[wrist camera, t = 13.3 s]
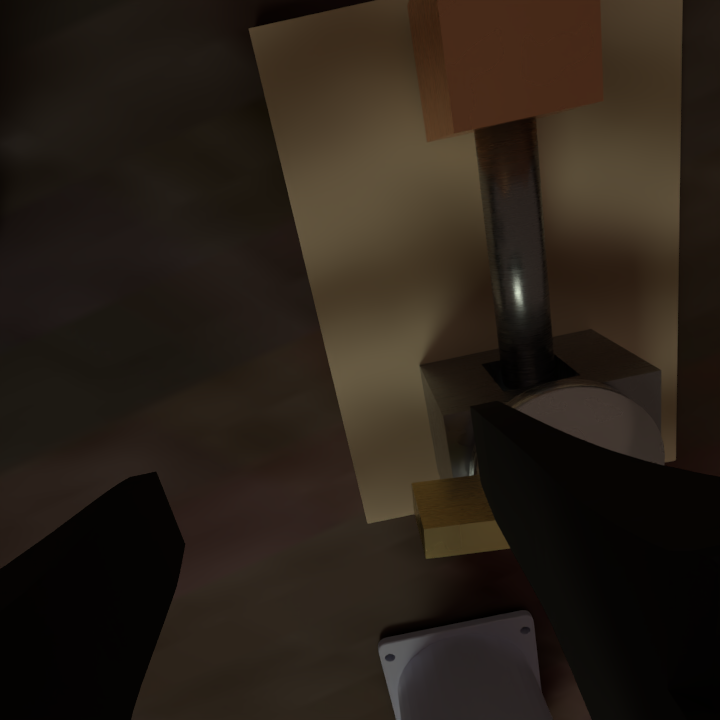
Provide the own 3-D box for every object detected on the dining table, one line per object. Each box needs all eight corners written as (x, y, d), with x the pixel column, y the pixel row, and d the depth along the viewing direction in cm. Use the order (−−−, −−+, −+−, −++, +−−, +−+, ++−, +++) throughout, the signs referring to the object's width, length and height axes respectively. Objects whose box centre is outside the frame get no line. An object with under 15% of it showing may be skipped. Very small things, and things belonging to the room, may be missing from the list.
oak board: (664, 451, 24) (675, 460, 23) (366, 512, 24) (367, 523, 23) (667, -58, 17) (683, -69, 16) (252, 34, 17) (248, 28, 16)
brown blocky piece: (560, 351, 20) (613, 391, 16) (460, 371, 20) (490, 416, 16) (534, -23, 16) (597, -84, 12) (407, 5, 16) (431, -47, 12)
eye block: (596, 437, 22) (661, 501, 18) (437, 470, 22) (463, 541, 18) (591, 328, 20) (661, 370, 16) (419, 364, 21) (443, 415, 16)
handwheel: (658, 368, 16) (729, 409, 13) (641, 527, 18) (700, 593, 15) (401, 398, 16) (417, 447, 13) (415, 555, 18) (431, 627, 15)
